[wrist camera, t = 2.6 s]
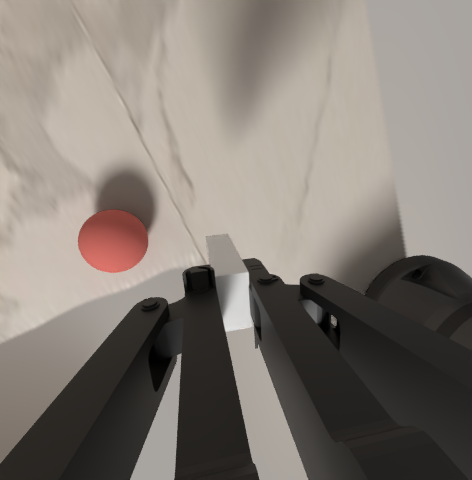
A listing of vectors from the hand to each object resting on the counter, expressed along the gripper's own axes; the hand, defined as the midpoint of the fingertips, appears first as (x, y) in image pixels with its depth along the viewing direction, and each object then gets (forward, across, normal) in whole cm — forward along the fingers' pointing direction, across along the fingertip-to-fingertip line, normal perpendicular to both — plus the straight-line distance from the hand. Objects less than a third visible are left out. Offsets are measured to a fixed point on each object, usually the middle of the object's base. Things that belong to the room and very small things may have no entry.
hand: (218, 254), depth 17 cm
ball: (+9, +9, 0) cm, 13 cm away
